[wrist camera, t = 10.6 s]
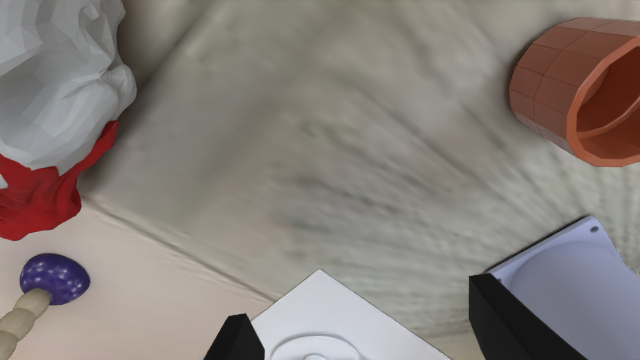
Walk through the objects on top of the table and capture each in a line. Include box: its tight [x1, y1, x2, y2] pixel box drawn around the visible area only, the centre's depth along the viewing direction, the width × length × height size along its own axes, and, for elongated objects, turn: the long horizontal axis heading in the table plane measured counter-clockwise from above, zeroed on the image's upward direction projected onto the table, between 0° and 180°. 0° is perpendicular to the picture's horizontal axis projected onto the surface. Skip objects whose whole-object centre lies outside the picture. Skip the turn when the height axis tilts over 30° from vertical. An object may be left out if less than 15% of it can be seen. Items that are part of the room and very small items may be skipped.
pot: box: [509, 17, 640, 167], centre depth 15 cm, size 6×6×5 cm
